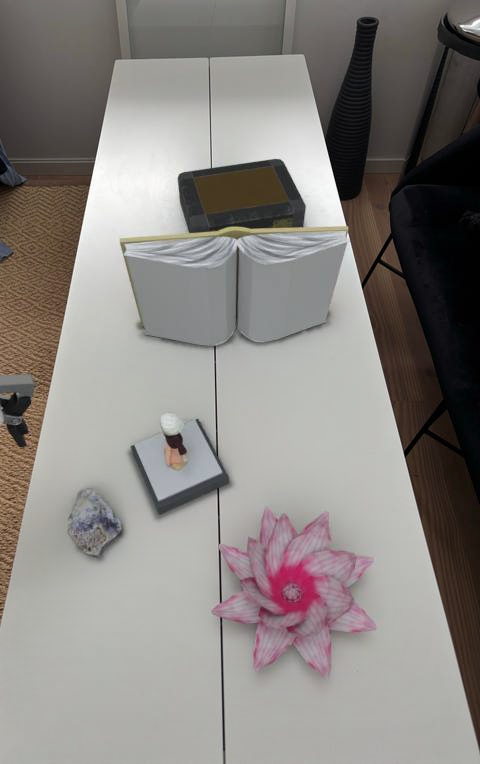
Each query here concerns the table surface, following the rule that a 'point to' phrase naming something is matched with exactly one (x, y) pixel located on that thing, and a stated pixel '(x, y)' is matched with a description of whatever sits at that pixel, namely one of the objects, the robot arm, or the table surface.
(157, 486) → the scale
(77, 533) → the mineral specimen
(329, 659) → the decorative flower
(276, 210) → the cash box
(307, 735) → the table surface
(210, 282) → the book
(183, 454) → the grandmother figurine
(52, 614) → the table surface
